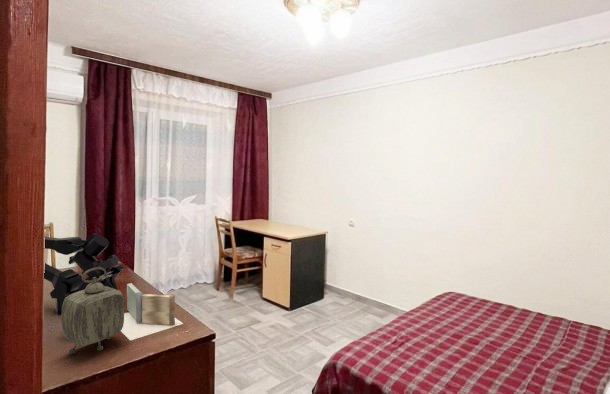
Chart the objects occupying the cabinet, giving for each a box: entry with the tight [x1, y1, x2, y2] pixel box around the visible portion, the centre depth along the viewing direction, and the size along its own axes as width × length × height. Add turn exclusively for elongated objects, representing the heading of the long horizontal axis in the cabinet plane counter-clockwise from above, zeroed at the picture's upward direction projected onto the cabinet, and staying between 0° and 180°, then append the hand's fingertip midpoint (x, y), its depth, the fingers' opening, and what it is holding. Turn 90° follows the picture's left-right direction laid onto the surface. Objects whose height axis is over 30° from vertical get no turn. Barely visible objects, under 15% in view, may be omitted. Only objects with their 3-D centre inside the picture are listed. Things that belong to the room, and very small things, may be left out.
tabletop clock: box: [60, 267, 125, 355], centre depth 102 cm, size 14×9×25 cm, turn 150°
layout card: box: [120, 311, 184, 341], centre depth 122 cm, size 18×23×1 cm
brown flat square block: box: [141, 293, 176, 326], centre depth 120 cm, size 12×2×11 cm, turn 86°
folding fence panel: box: [126, 283, 143, 323], centre depth 125 cm, size 14×2×10 cm, turn 41°
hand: (117, 294), depth 128 cm, fingers closed
